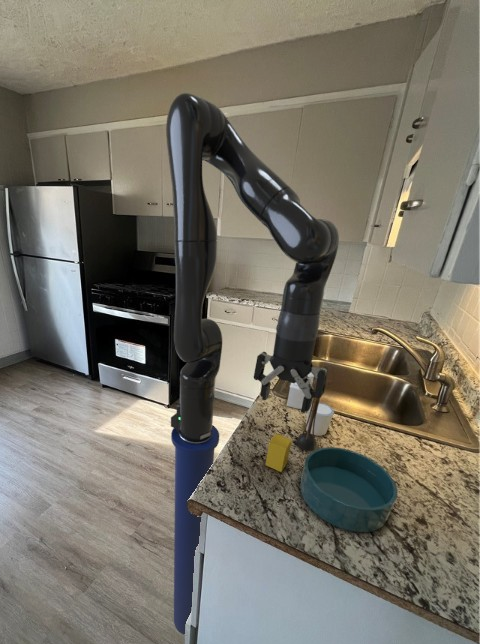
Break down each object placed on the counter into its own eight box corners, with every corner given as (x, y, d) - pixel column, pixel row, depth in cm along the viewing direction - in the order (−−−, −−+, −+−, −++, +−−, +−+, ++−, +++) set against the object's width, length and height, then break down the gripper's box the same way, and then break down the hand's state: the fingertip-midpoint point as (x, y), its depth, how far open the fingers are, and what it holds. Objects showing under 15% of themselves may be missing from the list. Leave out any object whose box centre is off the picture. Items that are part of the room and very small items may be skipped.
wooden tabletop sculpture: (311, 437, 85) (327, 370, 76) (322, 447, 81) (340, 379, 72) (292, 440, 83) (306, 373, 75) (303, 452, 79) (319, 382, 71)
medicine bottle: (290, 396, 105) (296, 363, 100) (312, 401, 102) (319, 368, 97) (285, 406, 99) (292, 372, 94) (309, 412, 96) (317, 377, 91)
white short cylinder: (325, 424, 91) (331, 403, 88) (331, 438, 85) (337, 417, 82) (301, 420, 92) (305, 400, 89) (304, 435, 86) (309, 413, 83)
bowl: (289, 503, 65) (294, 481, 62) (312, 457, 78) (317, 437, 75) (383, 549, 56) (393, 526, 53) (391, 489, 69) (400, 468, 66)
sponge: (265, 465, 75) (269, 441, 72) (271, 456, 78) (275, 433, 75) (281, 472, 73) (286, 448, 70) (287, 462, 76) (292, 439, 73)
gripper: (339, 335, 60) (322, 408, 67) (268, 321, 67) (260, 388, 74) (330, 347, 54) (312, 424, 61) (254, 330, 61) (246, 401, 68)
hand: (283, 404), depth 67 cm, fingers open, 8 cm apart
